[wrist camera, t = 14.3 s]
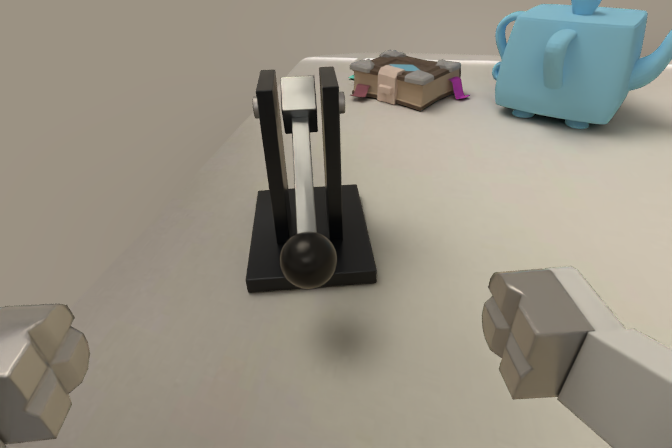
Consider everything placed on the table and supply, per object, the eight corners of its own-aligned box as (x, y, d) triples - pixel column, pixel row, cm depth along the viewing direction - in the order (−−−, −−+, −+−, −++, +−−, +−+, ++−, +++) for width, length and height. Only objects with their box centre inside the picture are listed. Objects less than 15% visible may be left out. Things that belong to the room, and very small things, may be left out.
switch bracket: (376, 283, 30) (381, 106, 23) (247, 293, 30) (211, 116, 23) (356, 195, 40) (356, 51, 33) (259, 201, 40) (237, 57, 32)
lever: (339, 293, 25) (339, 276, 22) (283, 297, 25) (277, 280, 22) (322, 103, 31) (321, 70, 28) (277, 106, 31) (272, 72, 28)
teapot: (515, 140, 49) (545, 9, 41) (472, 92, 62) (488, -14, 54) (674, 133, 49) (734, 2, 41) (597, 87, 62) (631, -19, 55)
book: (314, 90, 65) (312, 56, 62) (365, 71, 73) (365, 40, 70) (429, 121, 54) (433, 81, 51) (474, 95, 61) (480, 58, 59)
